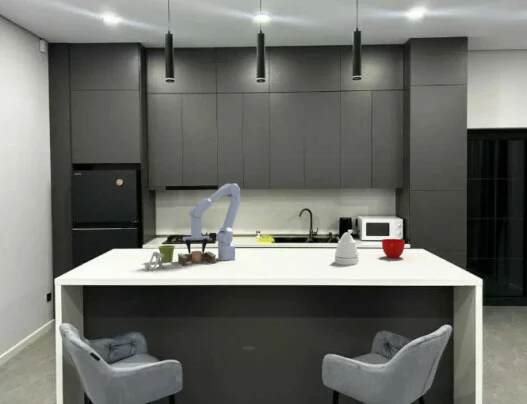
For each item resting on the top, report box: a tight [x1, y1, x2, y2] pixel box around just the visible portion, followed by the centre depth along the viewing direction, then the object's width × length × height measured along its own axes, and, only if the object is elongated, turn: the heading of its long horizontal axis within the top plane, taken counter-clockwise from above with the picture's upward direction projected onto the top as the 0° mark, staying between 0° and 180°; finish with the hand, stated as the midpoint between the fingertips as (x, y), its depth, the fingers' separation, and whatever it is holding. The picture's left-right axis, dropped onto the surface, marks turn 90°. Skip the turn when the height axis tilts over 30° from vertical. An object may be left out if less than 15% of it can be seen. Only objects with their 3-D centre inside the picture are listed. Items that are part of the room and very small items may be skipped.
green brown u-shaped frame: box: [177, 250, 217, 266], centre depth 252 cm, size 18×14×5 cm
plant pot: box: [157, 244, 176, 263], centre depth 255 cm, size 9×9×9 cm
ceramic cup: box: [381, 238, 406, 259], centre depth 264 cm, size 13×17×10 cm
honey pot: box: [334, 229, 359, 266], centre depth 249 cm, size 13×13×18 cm
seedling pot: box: [191, 250, 202, 264], centre depth 252 cm, size 6×6×6 cm
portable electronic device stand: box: [144, 251, 165, 272], centre depth 234 cm, size 9×8×8 cm
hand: (196, 253), depth 252 cm, fingers open, 7 cm apart
